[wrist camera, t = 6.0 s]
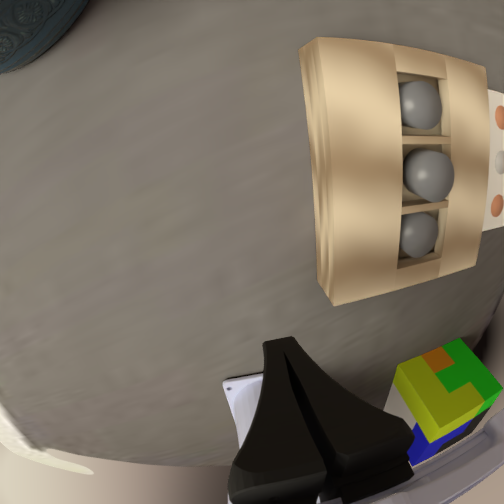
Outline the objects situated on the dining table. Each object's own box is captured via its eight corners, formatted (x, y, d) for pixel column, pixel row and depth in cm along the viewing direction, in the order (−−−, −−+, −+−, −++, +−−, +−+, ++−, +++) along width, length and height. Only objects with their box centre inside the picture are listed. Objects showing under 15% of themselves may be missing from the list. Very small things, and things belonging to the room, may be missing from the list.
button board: (451, 248, 24) (475, 265, 20) (317, 280, 23) (333, 306, 19) (455, 68, 16) (485, 67, 13) (298, 49, 15) (317, 37, 12)
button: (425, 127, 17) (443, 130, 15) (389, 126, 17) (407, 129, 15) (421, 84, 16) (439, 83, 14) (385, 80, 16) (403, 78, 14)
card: (505, 223, 24) (508, 225, 23) (475, 231, 23) (478, 232, 23) (512, 96, 18) (514, 97, 17) (480, 87, 17) (483, 87, 17)
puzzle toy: (383, 410, 34) (412, 466, 25) (397, 363, 29) (439, 428, 20) (439, 385, 34) (471, 432, 25) (459, 337, 30) (503, 388, 21)
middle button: (434, 191, 18) (452, 200, 16) (400, 195, 18) (418, 204, 16) (435, 147, 17) (455, 152, 15) (400, 148, 16) (419, 153, 15)
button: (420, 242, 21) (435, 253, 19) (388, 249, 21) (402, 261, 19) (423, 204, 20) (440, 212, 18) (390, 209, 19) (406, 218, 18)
